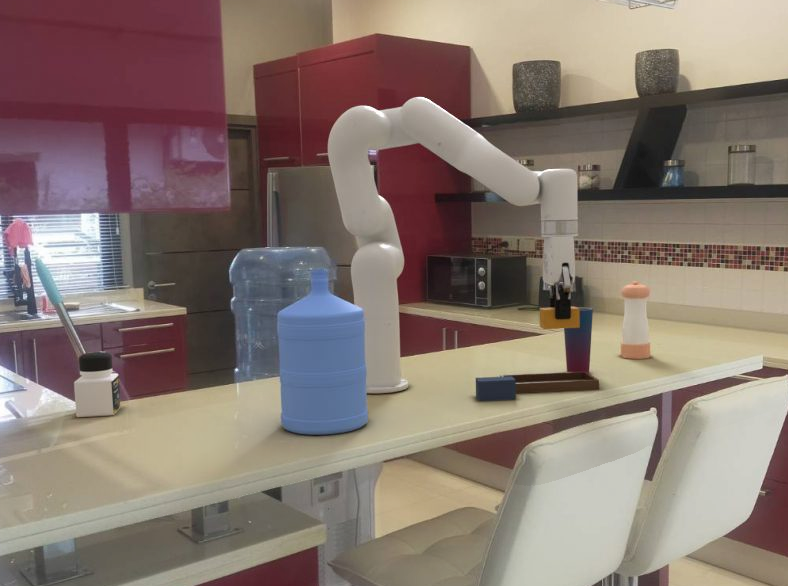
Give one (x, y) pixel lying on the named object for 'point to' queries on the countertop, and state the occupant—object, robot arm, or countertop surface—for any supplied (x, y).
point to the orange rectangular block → (552, 323)
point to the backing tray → (554, 382)
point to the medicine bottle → (96, 386)
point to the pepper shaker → (635, 322)
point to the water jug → (322, 363)
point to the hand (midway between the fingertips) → (560, 316)
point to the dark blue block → (495, 388)
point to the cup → (579, 342)
